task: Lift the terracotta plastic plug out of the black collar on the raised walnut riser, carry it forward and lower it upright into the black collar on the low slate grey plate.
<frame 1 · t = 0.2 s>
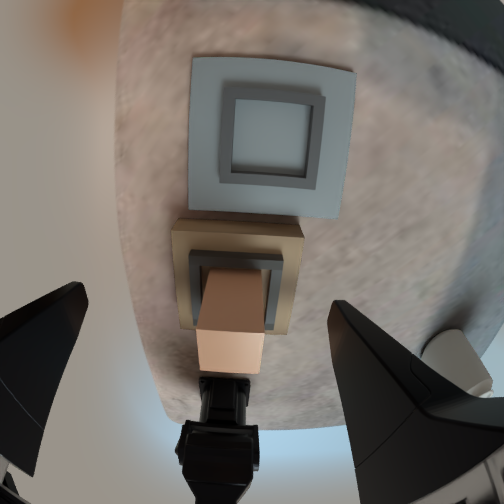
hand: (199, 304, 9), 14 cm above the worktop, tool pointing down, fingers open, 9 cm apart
upper jack: (236, 273, 25), on the worktop
can: (439, 343, 31), on the worktop
lower jack: (270, 136, 19), on the worktop
plug: (234, 289, 23), point 2 cm above the worktop, touching upper jack
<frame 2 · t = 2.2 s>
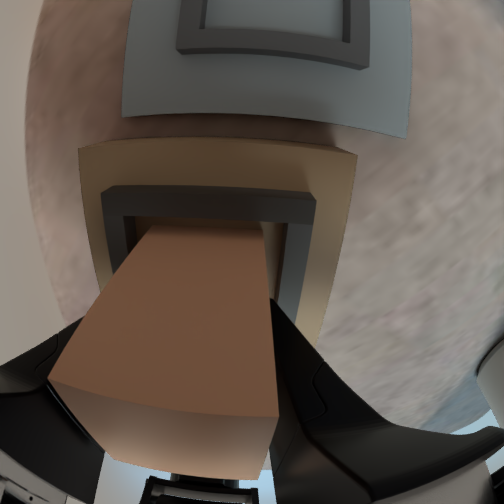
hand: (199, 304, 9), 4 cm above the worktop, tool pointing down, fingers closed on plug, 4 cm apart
upper jack: (214, 246, 13), on the worktop
can: (497, 354, 19), on the worktop
plug: (206, 275, 11), point 2 cm above the worktop, touching gripper, upper jack
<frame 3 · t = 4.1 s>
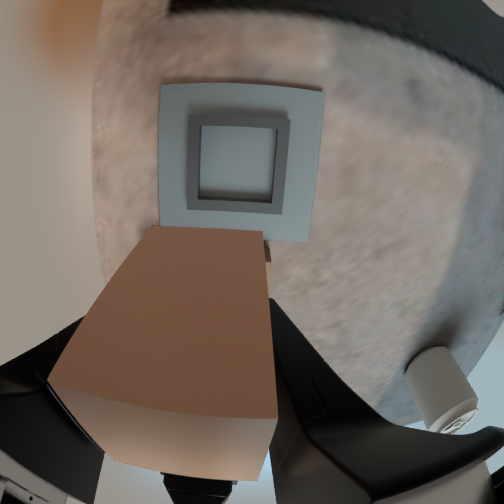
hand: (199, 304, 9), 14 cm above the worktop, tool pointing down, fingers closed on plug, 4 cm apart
can: (424, 360, 31), on the worktop
lower jack: (237, 161, 20), on the worktop
plug: (206, 276, 11), point 12 cm above the worktop, touching gripper
when the fingers open (3 cm above the worktop, at t = 6.1 s): plug stays where it is, resting on lower jack.
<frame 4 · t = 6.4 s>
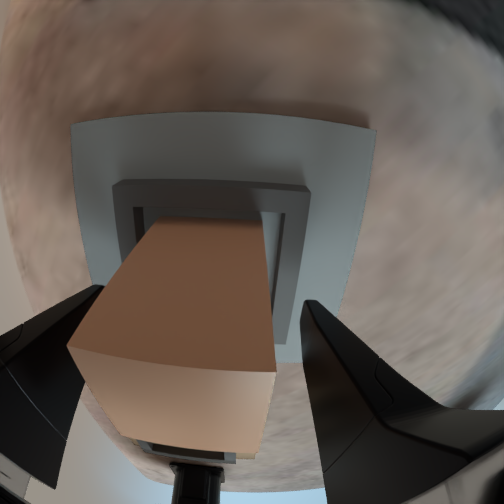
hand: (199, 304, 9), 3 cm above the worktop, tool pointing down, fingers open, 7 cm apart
upper jack: (189, 402, 17), on the worktop
lower jack: (211, 256, 12), on the worktop
plug: (210, 263, 11), point 1 cm above the worktop, touching lower jack
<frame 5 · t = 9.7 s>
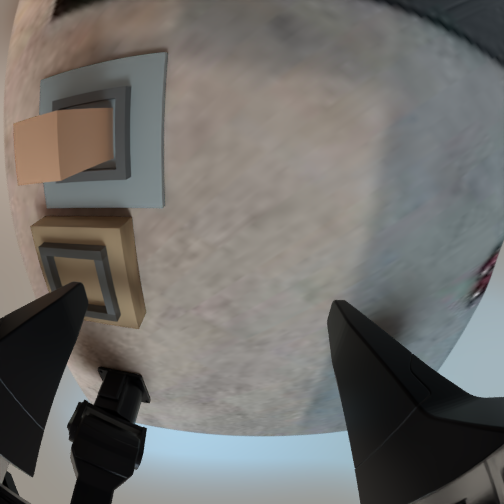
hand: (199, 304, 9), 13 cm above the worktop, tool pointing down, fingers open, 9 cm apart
upper jack: (92, 265, 23), on the worktop
lower jack: (95, 135, 18), on the worktop
plug: (91, 135, 17), point 1 cm above the worktop, touching lower jack
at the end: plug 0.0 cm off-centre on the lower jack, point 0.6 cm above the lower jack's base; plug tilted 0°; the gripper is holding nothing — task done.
